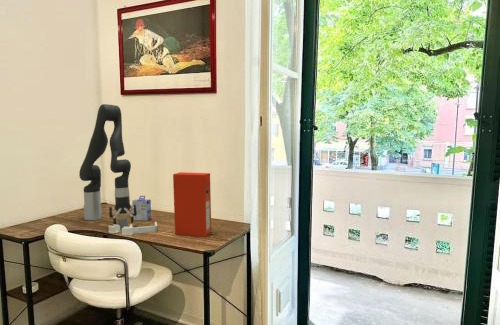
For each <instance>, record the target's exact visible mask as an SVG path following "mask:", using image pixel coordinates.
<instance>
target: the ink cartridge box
mask: <svg viewBox="0 0 500 325" xmlns="http://www.w3.org/2000/svg"><path fill="white" fill-rule="evenodd" d="M131 202H132V204H131V205H134V204H135V205H136V211H137V215H136V216H134V221H143V222H146V221H147V222H148V221H149V220H152V206H151V203H152V199H146V195H139V197H138V198H136V199H133V200H132V201H131ZM132 213H133V214H134V209H132Z"/></svg>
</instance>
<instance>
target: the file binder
mask: <svg viewBox="0 0 500 325" xmlns="http://www.w3.org/2000/svg"><path fill="white" fill-rule="evenodd" d="M172 179H173V180H172V182H173V183H172V184H173V188H172V189H173V213H174V217H173V218H174V234H175V235H178V236H190V237H200V236H201V237H202V238H207V237H208V236H209V235H210V234H211V233H212V205H211V204H212V202H211V173H210V172H185V171H184V172H183V171H182V172H181V171H180V172H176V173H173V174H172Z"/></svg>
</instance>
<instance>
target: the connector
mask: <svg viewBox="0 0 500 325" xmlns="http://www.w3.org/2000/svg"><path fill="white" fill-rule="evenodd" d="M118 225H120V231H122V228H123V227H128V216H127V215H123V216H122V215H121V216H118Z"/></svg>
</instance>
